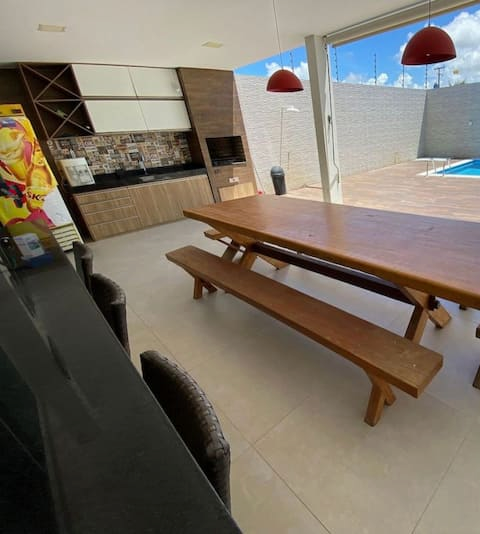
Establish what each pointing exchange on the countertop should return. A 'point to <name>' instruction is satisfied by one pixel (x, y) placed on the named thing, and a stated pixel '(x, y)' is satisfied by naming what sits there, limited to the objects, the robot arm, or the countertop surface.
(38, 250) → the syrup box
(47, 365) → the countertop surface
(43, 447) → the countertop surface
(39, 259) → the holder
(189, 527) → the countertop surface
